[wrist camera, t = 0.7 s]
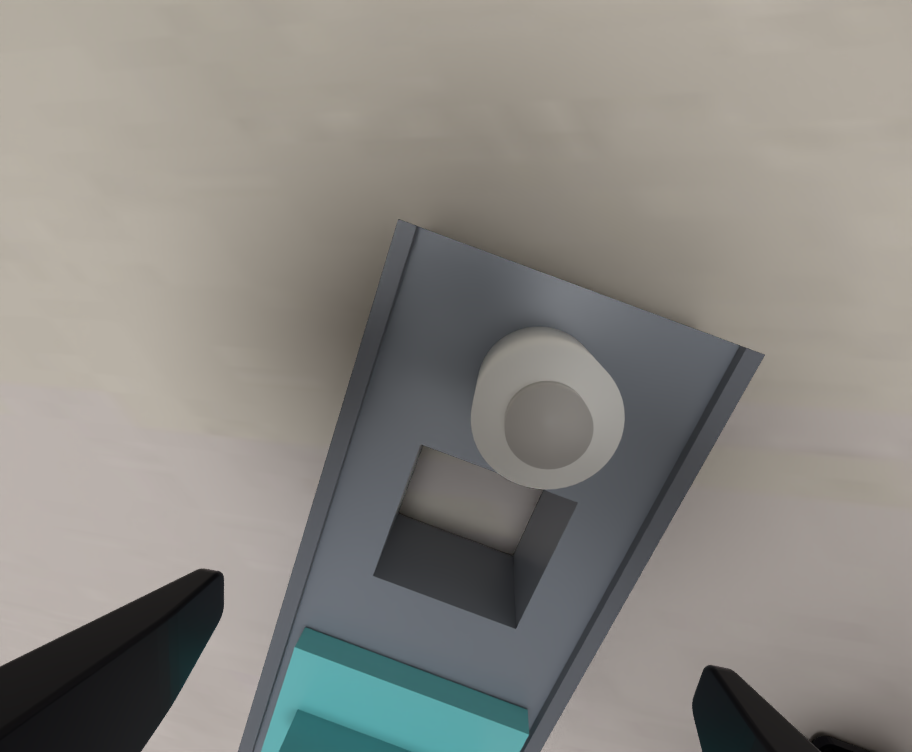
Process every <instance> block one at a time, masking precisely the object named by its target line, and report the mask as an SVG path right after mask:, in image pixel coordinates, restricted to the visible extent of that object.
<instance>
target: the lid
mask: <svg viewBox="0 0 912 752" xmlns="http://www.w3.org/2000/svg"><path fill="white" fill-rule="evenodd" d="M528 736H529V722H528V710H527V709H524V708H521V707H519V706H516V705H513V704H510V703H508V702H505V701H502V700H500V699H497V698H494V697H492V696H489V695H486V694H484V693H481V692H478V691H476V690H473V689H470V688H467V687H465V686H462V685H459V684H457V683H454V682H451V681H449V680H446V679H443V678H441V677H438V676H435V675H433V674H430V673H427V672H425V671H422V670H419V669H416V668H414V667H411V666H408V665H406V664H403V663H400V662H398V661H395V660H392V659H390V658H387V657H384V656H382V655H379V654H376V653H374V652H371V651H368V650H365V649H363V648H360V647H357V646H355V645H352V644H349V643H347V642H344V641H341V640H339V639H336V638H333V637H331V636H328V635H325V634H322V633H320V632H317V631H314V630H312V629H309V628H306V627H305V629H304V630H303V632H302V634H301V636H300V638H299V640H298V642H297V644H296V646H295V648H294V651H293V654H292V657H291V660H290V663H289V666H288V669H287V672H286V676H285V679H284V682H283V685H282V688H281V691H280V694H279V697H278V700H277V704H276V707H275V710H274V713H273V716H272V719H271V722H270V725H269V728H268V732H267V735H266V738H265V741H264V744H263V747H262V750H261V752H520V750H521V749H522V747H523V745H524V743H525V741H526V740H527V738H528Z"/></svg>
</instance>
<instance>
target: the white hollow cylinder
mask: <svg viewBox="0 0 912 752" xmlns="http://www.w3.org/2000/svg"><path fill="white" fill-rule="evenodd" d="M624 422H625V411H624V405H623V400H622V397H621V394H620V391H619V389H618V387H617V385H616V383H615V382H614V380H613V379H612V377H611V376H610V374H609V373H608V372H607V371H606V370H605V369H604V368H603V367H602V366H601V365H600V363H599V362H598V361H597V360H596V359H595V358H594V357H593V356H592V355H591V354H590V353H589V351H588V350H587V349H586V348H585V347H584V346H583V345H582V344H581V343H580V342H579V341H578V340H577V339H575V338H574V337H572V336H571V335H569V334H568V333H565V332H563V331H561V330H558V329H554V328H549V327H528V328H523V329H520V330H517V331H514V332H512V333H510V334H508V335H506V336H505V337H503V338H502V339H500V340H499V341H498V342H497V343H496V344H495V345H494V346H493V347H492V348H491V349H490V350H489V351H488V353H487V355H486V356H485V358H484V360H483V362H482V364H481V367H480V370H479V374H478V379H477V384H476V389H475V394H474V399H473V403H472V410H471V429H472V434H473V438H474V441H475V443H476V446H477V448H478V450H479V452H480V454H481V455H482V457H483V458H484V459H485V461H486V462H487V463H488V464H489V465H490V466H491V467H492V468H493V469H494V470H495V471H496V472H497V473H499V474H500V475H501V476H503V477H504V478H506V479H508V480H509V481H512V482H514V483H516V484H518V485H522V486H525V487H529V488H534V489H559V488H565V487H568V486H572V485H575V484H577V483H580V482H582V481H584V480H586V479H588V478H589V477H591V476H593V475H594V474H595V473H597V472H598V471H599V470H600V469H601V468H602V467H603V466H604V465H605V464H606V463H607V462H608V461H609V460H610V458H611V457H612V456H613V454H614V453H615V451H616V449H617V447H618V445H619V443H620V440H621V437H622V434H623V430H624Z"/></svg>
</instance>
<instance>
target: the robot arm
mask: <svg viewBox="0 0 912 752" xmlns="http://www.w3.org/2000/svg"><path fill="white" fill-rule="evenodd" d="M223 609H224V576H223V574H222V573H221V572H220V571H215V570H210V569H198V570H196V571H194V572H192V573H190V574H187V575H185V576H183V577H181V578H179V579H177V580H175V581H173V582H171V583H169V584H167V585H165V586H163V587H161V588H159V589H157V590H155V591H153V592H151V593H149V594H147V595H145V596H143V597H141V598H139V599H137V600H135V601H133V602H130V603H128V604H126V605H124V606H122V607H120V608H118V609H116V610H114V611H112V612H110V613H108V614H106V615H104V616H102V617H100V618H98V619H96V620H94V621H92V622H90V623H88V624H86V625H84V626H82V627H80V628H78V629H76V630H73V631H71V632H69V633H67V634H65V635H63V636H61V637H59V638H57V639H55V640H53V641H51V642H49V643H47V644H45V645H43V646H41V647H39V648H37V649H35V650H33V651H31V652H29V653H27V654H25V655H23V656H21V657H19V658H16V659H14V660H12V661H10V662H8V663H6V664H4V665H2V666H0V752H141V751H142V749H143V748H144V746H145V745H146V743H147V742H148V741H149V739H150V738H151V736H152V735H153V733H154V732H155V730H156V729H157V727H158V726H159V724H160V723H161V721H162V720H163V718H164V717H165V715H166V714H167V712H168V711H169V709H170V708H171V706H172V704H173V703H174V701H175V699H176V698H177V696H178V694H179V692H180V691H181V689H182V687H183V685H184V684H185V682H186V680H187V678H188V676H189V675H190V673H191V671H192V669H193V667H194V666H195V664H196V662H197V660H198V659H199V657H200V655H201V653H202V651H203V650H204V648H205V646H206V644H207V642H208V641H209V639H210V637H211V635H212V633H213V632H214V630H215V628H216V626H217V625H218V623H219V621H220V619H221V616H222V613H223ZM692 710H693V716H694V720H695V724H696V728H697V732H698V736H699V740H700V744H701V748H702V752H869V751H867V750H864V749H861V748H859V747H856V746H853V745H851V744H848V743H845V742H843V741H840V740H837V739H834V738H832V737H829V736H820V737H818V738H816V739H815V740H814V741H813V743H811V742H810V741H809V740H808V739H807V738H806V737H805V736H803V735H802V734H801V733H800V732H799V731H798V730H797V729H796V728H795V727H794V726H793V725H792V724H791V723H789V722H788V721H787V720H786V719H785V718H784V717H783V716H782V715H781V714H780V713H779V712H778V711H777V710H775V709H774V708H773V707H772V706H771V705H770V704H769V703H768V702H767V701H766V700H765V699H764V698H763V697H761V696H760V695H759V694H758V693H757V692H756V691H755V690H754V689H753V688H752V687H751V686H750V685H749V684H747V683H746V682H745V681H744V680H743V679H742V678H741V677H740V676H739V675H738V674H737V673H735V672H734V671H733V670H731V669H728V668H724V667H719V666H713V665H708V666H706V667H705V668H704V670H703V672H702V675H701V678H700V680H699V683H698V686H697V689H696V691H695V694H694V697H693V702H692Z"/></svg>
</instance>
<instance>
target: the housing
mask: <svg viewBox="0 0 912 752" xmlns="http://www.w3.org/2000/svg"><path fill="white" fill-rule="evenodd" d="M528 327H549V328H554V329H558V330H561V331H563V332H565V333H568V334H569V335H571V336H572V337H574V338H575V339H577V340H578V341H579V342H580V343H581V344H582V345H583V346H584V347H585V348H586V349H587V350H588V351H589V353H590V354H591V355H592V356H593V357H594V358H595V359H596V360H597V361H598V362H599V363H600V365H601V366H602V367H603V368H604V369H605V370H606V371H607V372H608V373H609V374H610V376H611V377H612V379H613V380H614V382H615V383H616V385H617V387H618V389H619V391H620V394H621V397H622V400H623V405H624V411H625V422H624V430H623V434H622V437H621V440H620V443H619V445H618V447H617V449H616V451H615V453H614V454H613V456H612V457H611V458H610V460H609V461H608V462H607V463H606V464H605V465H604V466H603V467H602V468H601V469H600V470H599V471H598V472H597V473H595V474H594V475H593V476H591V477H589V478H588V479H586V480H584V481H582V482H580V483H577V484H575V485H572V486H568V487H565V488H559V489H542V490H543V492H542V495H541V497H540V499H539V501H538V503H537V505H536V508H535V510H534V512H533V514H532V516H531V518H530V521H529V523H528V525H527V527H526V529H525V531H524V533H523V536H522V538H521V540H520V542H519V544H518V546H517V549H516V551H515V553H514V555H513V556H511V555H508V554H506V553H503V552H500V551H497V550H495V549H492V548H489V547H487V546H484V545H481V544H479V543H476V542H473V541H471V540H468V539H465V538H463V537H460V536H457V535H454V534H452V533H449V532H446V531H444V530H441V529H438V528H436V527H433V526H430V525H428V524H425V523H422V522H419V521H417V520H414V519H411V518H409V517H406V516H403V515H401V514H398V512H399V509H400V506H401V504H402V501H403V498H404V496H405V493H406V490H407V487H408V485H409V482H410V479H411V476H412V474H413V471H414V468H415V465H416V463H417V460H418V457H419V454H420V452H421V449H422V446H423V445H424V446H427V447H429V448H432V449H435V450H437V451H440V452H443V453H445V454H448V455H451V456H453V457H456V458H459V459H462V460H464V461H467V462H470V463H472V464H475V465H478V466H480V467H483V468H486V469H489V470H491V471H494V472H496V471H495V470H494V469H493V468H492V467H491V466H490V465H489V464H488V463H487V462H486V461H485V459H484V458H483V457H482V455H481V454H480V452H479V450H478V448H477V446H476V443H475V441H474V438H473V434H472V429H471V410H472V403H473V399H474V394H475V389H476V384H477V379H478V374H479V370H480V367H481V364H482V362H483V360H484V358H485V356H486V355H487V353H488V351H489V350H490V349H491V348H492V347H493V346H494V345H495V344H496V343H497V342H498V341H499V340H500V339H502V338H503V337H505V336H506V335H508V334H510V333H512V332H514V331H517V330H520V329H523V328H528ZM764 356H765V355H764V354H761V353H759V352H756V351H753V350H751V349H748V348H745V347H742V346H740V345H737V344H734V343H732V342H729V341H726V340H724V339H721V338H718V337H715V336H713V335H710V334H707V333H705V332H702V331H699V330H697V329H694V328H691V327H688V326H686V325H683V324H680V323H678V322H675V321H672V320H670V319H667V318H664V317H661V316H659V315H656V314H653V313H651V312H648V311H645V310H643V309H640V308H637V307H634V306H632V305H629V304H626V303H624V302H621V301H618V300H616V299H613V298H610V297H607V296H605V295H602V294H599V293H597V292H594V291H591V290H589V289H586V288H583V287H580V286H578V285H575V284H572V283H570V282H567V281H564V280H562V279H559V278H556V277H553V276H551V275H548V274H545V273H543V272H540V271H537V270H535V269H532V268H529V267H526V266H524V265H521V264H518V263H516V262H513V261H510V260H508V259H505V258H502V257H499V256H497V255H494V254H491V253H489V252H486V251H483V250H481V249H478V248H475V247H472V246H470V245H467V244H464V243H462V242H459V241H456V240H454V239H451V238H448V237H445V236H443V235H440V234H437V233H435V232H432V231H429V230H427V229H424V228H421V227H418V226H416V225H413V224H410V223H408V222H405V221H402V220H400V219H398V222H397V225H396V228H395V232H394V235H393V238H392V242H391V245H390V248H389V252H388V255H387V258H386V262H385V265H384V268H383V272H382V275H381V278H380V281H379V285H378V288H377V291H376V295H375V298H374V301H373V305H372V308H371V311H370V315H369V318H368V321H367V325H366V328H365V331H364V335H363V338H362V341H361V345H360V348H359V351H358V355H357V358H356V361H355V365H354V368H353V371H352V374H351V378H350V381H349V384H348V388H347V391H346V394H345V398H344V401H343V404H342V408H341V411H340V414H339V418H338V421H337V424H336V428H335V431H334V434H333V438H332V441H331V444H330V448H329V451H328V454H327V458H326V461H325V464H324V467H323V471H322V474H321V477H320V481H319V484H318V487H317V491H316V494H315V497H314V501H313V504H312V507H311V511H310V514H309V517H308V521H307V524H306V527H305V531H304V534H303V537H302V541H301V544H300V547H299V551H298V554H297V557H296V561H295V564H294V567H293V570H292V574H291V577H290V580H289V584H288V587H287V590H286V594H285V597H284V600H283V604H282V607H281V610H280V614H279V617H278V620H277V624H276V627H275V630H274V634H273V637H272V640H271V644H270V647H269V650H268V654H267V657H266V660H265V663H264V667H263V670H262V673H261V677H260V680H259V683H258V687H257V690H256V693H255V697H254V700H253V703H252V707H251V710H250V713H249V717H248V720H247V723H246V727H245V730H244V733H243V737H242V740H241V743H240V747H239V750H238V752H261V750H262V747H263V744H264V741H265V738H266V735H267V732H268V728H269V725H270V722H271V719H272V716H273V713H274V710H275V707H276V704H277V700H278V697H279V694H280V691H281V688H282V685H283V682H284V679H285V676H286V672H287V669H288V666H289V663H290V660H291V657H292V654H293V651H294V648H295V646H296V644H297V642H298V640H299V638H300V636H301V634H302V632H303V630H304V629H305V627H306V628H309V629H312V630H314V631H317V632H320V633H322V634H325V635H328V636H331V637H333V638H336V639H339V640H341V641H344V642H347V643H349V644H352V645H355V646H357V647H360V648H363V649H365V650H368V651H371V652H374V653H376V654H379V655H382V656H384V657H387V658H390V659H392V660H395V661H398V662H400V663H403V664H406V665H408V666H411V667H414V668H416V669H419V670H422V671H425V672H427V673H430V674H433V675H435V676H438V677H441V678H443V679H446V680H449V681H451V682H454V683H457V684H459V685H462V686H465V687H467V688H470V689H473V690H476V691H478V692H481V693H484V694H486V695H489V696H492V697H494V698H497V699H500V700H502V701H505V702H508V703H510V704H513V705H516V706H519V707H521V708H524V709H527V710H528V722H529V736H528V738H527V740H526V741H525V743H524V745H523V747H522V749H521V750H520V752H540V751H541V749H542V748H543V746H544V744H545V742H546V740H547V739H548V737H549V735H550V733H551V732H552V730H553V728H554V726H555V725H556V723H557V721H558V719H559V718H560V716H561V714H562V712H563V710H564V709H565V707H566V705H567V703H568V702H569V700H570V698H571V696H572V695H573V693H574V691H575V689H576V688H577V686H578V684H579V682H580V680H581V679H582V677H583V675H584V673H585V672H586V670H587V668H588V666H589V665H590V663H591V661H592V659H593V658H594V656H595V654H596V652H597V650H598V649H599V647H600V645H601V643H602V642H603V640H604V638H605V636H606V635H607V633H608V631H609V629H610V628H611V626H612V624H613V622H614V620H615V619H616V617H617V615H618V613H619V612H620V610H621V608H622V606H623V605H624V603H625V601H626V599H627V598H628V596H629V594H630V592H631V590H632V589H633V587H634V585H635V583H636V582H637V580H638V578H639V576H640V575H641V573H642V571H643V569H644V568H645V566H646V564H647V562H648V560H649V559H650V557H651V555H652V553H653V552H654V550H655V548H656V546H657V545H658V543H659V541H660V539H661V538H662V536H663V534H664V532H665V530H666V529H667V527H668V525H669V523H670V522H671V520H672V518H673V516H674V515H675V513H676V511H677V509H678V508H679V506H680V504H681V502H682V500H683V499H684V497H685V495H686V493H687V492H688V490H689V488H690V486H691V485H692V483H693V481H694V479H695V478H696V476H697V474H698V472H699V470H700V469H701V467H702V465H703V463H704V462H705V460H706V458H707V456H708V455H709V453H710V451H711V449H712V448H713V446H714V444H715V442H716V440H717V439H718V437H719V435H720V433H721V432H722V430H723V428H724V426H725V425H726V423H727V421H728V419H729V418H730V416H731V414H732V412H733V410H734V409H735V407H736V405H737V403H738V402H739V400H740V398H741V396H742V395H743V393H744V391H745V389H746V388H747V386H748V384H749V382H750V380H751V379H752V377H753V375H754V373H755V372H756V370H757V368H758V366H759V365H760V363H761V361H762V359H763V358H764Z"/></svg>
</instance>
